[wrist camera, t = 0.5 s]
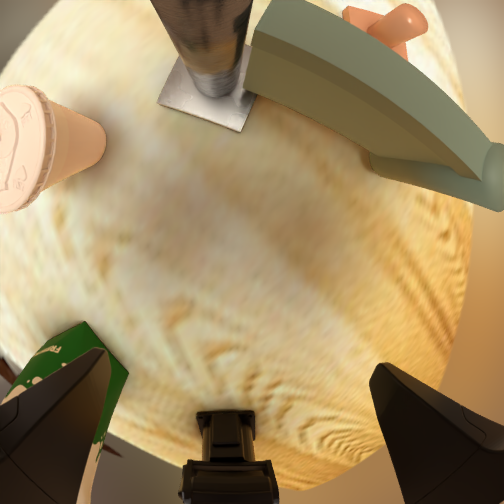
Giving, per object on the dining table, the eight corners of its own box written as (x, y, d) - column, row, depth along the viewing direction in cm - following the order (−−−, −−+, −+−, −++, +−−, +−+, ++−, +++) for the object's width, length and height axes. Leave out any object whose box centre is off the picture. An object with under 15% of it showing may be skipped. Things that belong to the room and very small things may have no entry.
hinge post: (160, 105, 17) (53, 42, 4) (195, 35, 15) (159, -91, 2) (239, 132, 18) (264, 93, 5) (273, 61, 16) (343, -52, 4)
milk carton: (85, 309, 22) (-20, 497, 3) (142, 377, 25) (103, 559, 6) (38, 335, 22) (-46, 474, 4) (89, 393, 26) (42, 534, 7)
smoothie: (122, 95, 16) (-15, 43, 3) (125, 180, 18) (-16, 240, 5) (53, 113, 16) (-86, 110, 3) (57, 190, 18) (-79, 250, 5)
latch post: (401, 74, 17) (447, 60, 11) (347, 62, 16) (386, 38, 11) (394, 25, 15) (434, 3, 10) (342, 11, 15) (375, -21, 9)
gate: (235, 104, 16) (246, 44, 6) (254, 65, 15) (285, -22, 5) (393, 184, 18) (503, 223, 9) (408, 150, 18) (520, 167, 8)
